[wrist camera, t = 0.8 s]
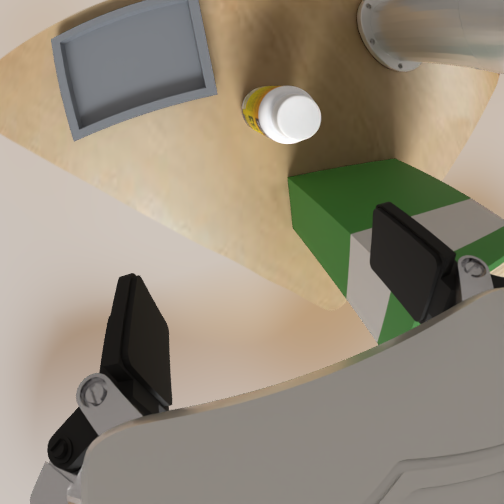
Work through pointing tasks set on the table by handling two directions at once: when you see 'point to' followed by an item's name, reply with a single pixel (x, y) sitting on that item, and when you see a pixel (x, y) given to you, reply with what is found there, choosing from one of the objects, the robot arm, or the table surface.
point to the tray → (132, 63)
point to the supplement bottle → (282, 113)
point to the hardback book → (360, 230)
